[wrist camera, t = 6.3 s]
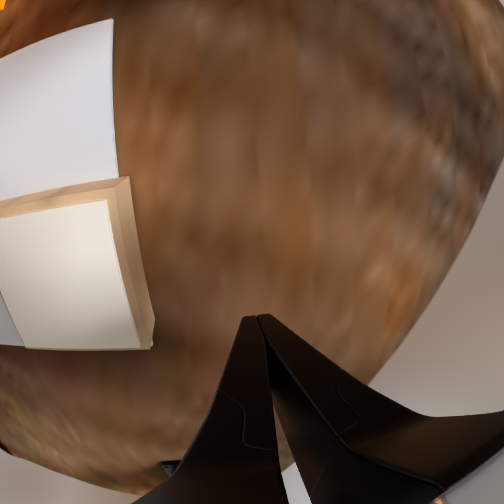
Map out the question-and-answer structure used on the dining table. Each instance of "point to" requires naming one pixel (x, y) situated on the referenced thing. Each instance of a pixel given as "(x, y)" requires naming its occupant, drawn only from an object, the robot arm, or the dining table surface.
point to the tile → (75, 269)
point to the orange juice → (2, 4)
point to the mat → (56, 119)
